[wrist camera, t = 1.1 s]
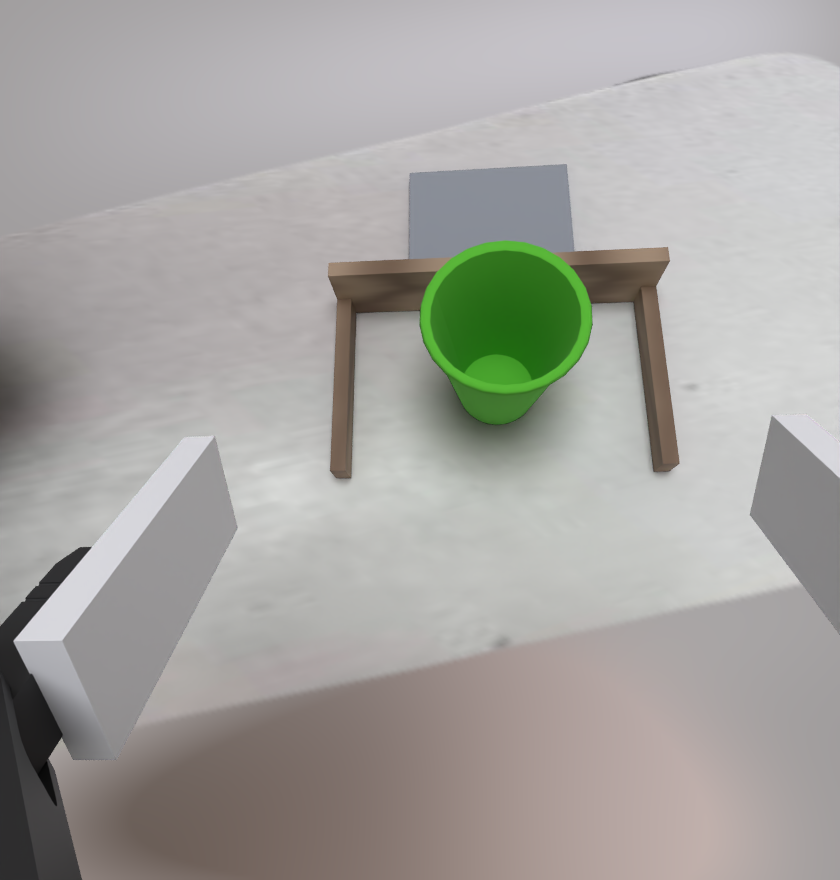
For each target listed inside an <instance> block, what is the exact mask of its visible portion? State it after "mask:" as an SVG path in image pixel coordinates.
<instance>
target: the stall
mask: <svg viewBox="0 0 840 880" xmlns="http://www.w3.org/2000/svg"><path fill="white" fill-rule="evenodd" d="M553 254H555V255H557V256H558V257H560V258H561V259H562V260H563V261H565V262H566V263H567V264H568V265H569V266H570V267H571V268H572V269H573V270H574V271H575V272H576V274H577V275H578V277H579V278H580V280H581V281H582V283H583V285H584V286H585V288H586V290H587V293H588V296H589V299H590V302H591V303H612V302H634V309H635V317H636V326H637V334H638V343H639V351H640V360H641V368H642V376H643V385H644V393H645V402H646V410H647V419H648V427H649V435H650V444H651V452H652V461H653V469H654V472H660V471H671V470H672V469H673V468H674V467H676V466H677V465H678V464H679V455H678V448H677V440H676V433H675V425H674V418H673V410H672V402H671V395H670V387H669V380H668V372H667V365H666V357H665V349H664V342H663V334H662V327H661V319H660V312H659V304H658V296H657V289H656V285H657V284H658V282H659V280H660V278H661V276H662V274H663V273H664V271H665V269H666V267H667V265H668V263H669V262H670V258H669V251H668V247H663V248H642V249H620V250H598V251H577V252H555V253H553ZM451 258H453V257H447V258H425V259H404V260H382V261H360V262H339V263H329V267H328V277H329V280H330V282H331V285H332V287H333V290H334V292H335V295H336V297H337V319H336V343H335V367H334V391H333V415H332V439H331V463H330V471H331V472H332V474H333V475H334V476H335V477H336V478H351V465H352V433H353V401H354V369H355V338H356V313H363V312H388V311H413V310H420V306H421V303H422V300H423V296H424V293H425V290H426V288H427V286H428V285H429V283H430V282H431V280H432V278H433V277H434V275H435V274H436V272H437V271H439V270H440V269H441V268H442V267H443V266H444V265H445V264H446V263H447V262H448V261H449V260H450V259H451Z"/></svg>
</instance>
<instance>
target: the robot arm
mask: <svg viewBox="0 0 840 880" xmlns="http://www.w3.org/2000/svg"><path fill="white" fill-rule="evenodd" d="M750 516H751V517H752V518H753V520H754V521H755V522H756V524H757V525H758V526H759V528H760V529H761V530H762V532H763V533H764V534H765V536H766V537H767V538H768V540H769V541H770V542H771V544H772V545H773V546H774V548H775V549H776V550H777V552H778V553H779V554H780V556H781V557H782V558H783V560H784V561H785V562H786V564H787V565H788V566H789V568H790V569H791V570H792V572H793V573H794V574H795V576H796V577H797V578H798V580H799V581H800V582H801V584H802V585H803V586H804V588H805V589H806V590H807V592H808V593H809V594H810V596H811V597H812V598H813V600H814V601H815V602H816V604H817V605H818V606H819V608H820V609H821V610H822V611H823V613H824V614H825V616H826V617H827V618H828V620H829V621H830V622H831V624H832V625H833V626H834V628H835V629H836V630H837V631H838V633H839V634H840V441H839V440H837V439H836V438H835V437H834V436H833V435H831V434H830V433H829V432H828V431H827V430H825V429H824V428H823V427H822V426H821V425H819V424H818V423H817V422H816V421H815V420H813V419H812V418H811V417H810V416H809V415H808V414H790V415H772V417H771V422H770V426H769V431H768V435H767V440H766V444H765V449H764V453H763V458H762V462H761V467H760V471H759V476H758V480H757V485H756V489H755V494H754V498H753V503H752V507H751V512H750ZM236 530H237V524H236V520H235V516H234V511H233V507H232V503H231V499H230V495H229V491H228V487H227V483H226V479H225V475H224V471H223V467H222V463H221V459H220V455H219V451H218V447H217V443H216V439H215V436H199V437H184V438H183V439H182V441H181V442H180V443H179V444H178V445H177V447H176V448H175V449H174V450H173V451H172V452H171V454H170V455H169V456H168V457H167V458H166V460H165V461H164V462H163V463H162V464H161V466H160V467H159V468H158V469H157V470H156V472H155V473H154V474H153V475H152V476H151V478H150V479H149V480H148V481H147V482H146V483H145V485H144V486H143V487H142V488H141V489H140V491H139V492H138V493H137V494H136V495H135V497H134V498H133V499H132V500H131V501H130V503H129V504H128V505H127V506H126V507H125V509H124V510H123V511H122V512H121V513H120V514H119V516H118V517H117V518H116V519H115V520H114V522H113V523H112V524H111V525H110V526H109V528H108V529H107V530H106V531H105V532H104V534H103V535H102V536H101V537H100V538H99V540H98V541H97V542H96V543H95V544H94V545H93V547H80V548H78V549H77V550H75V551H74V552H72V553H71V554H69V555H68V556H67V557H65V558H64V559H62V560H61V561H59V562H58V563H56V564H55V565H54V566H53V568H52V569H51V570H50V571H49V572H48V573H47V574H46V575H45V577H44V578H43V579H42V580H41V581H40V582H39V586H36V587H35V588H34V589H33V590H32V591H31V592H30V593H29V595H28V596H27V597H26V601H25V602H21V604H20V605H19V606H18V607H17V608H16V609H15V610H14V611H13V613H12V614H11V615H10V616H9V617H8V618H7V619H6V620H5V622H4V623H3V624H2V625H1V626H0V880H82V878H81V874H80V870H79V866H78V862H77V858H76V854H75V850H74V846H73V842H72V838H71V834H70V830H69V826H68V822H67V818H66V814H65V810H64V806H63V802H62V798H61V794H60V790H59V786H58V782H57V778H56V774H55V770H54V768H53V766H52V764H51V763H50V761H49V759H48V758H49V756H50V755H51V753H52V752H53V750H54V748H55V747H56V745H57V744H58V742H59V741H60V739H61V737H62V739H63V741H64V743H65V745H66V747H67V749H68V751H69V753H70V754H71V757H72V759H73V760H116V759H117V758H118V756H119V754H120V752H121V750H122V748H123V746H124V745H125V743H126V741H127V738H128V737H129V735H130V733H131V731H132V729H133V727H134V725H135V723H136V722H137V720H138V718H139V716H140V714H141V712H142V710H143V708H144V706H145V704H146V702H147V701H148V699H149V697H150V695H151V693H152V691H153V689H154V687H155V685H156V683H157V681H158V679H159V678H160V676H161V674H162V672H163V670H164V668H165V666H166V664H167V662H168V660H169V658H170V657H171V655H172V653H173V651H174V649H175V647H176V645H177V643H178V641H179V639H180V637H181V636H182V634H183V632H184V630H185V628H186V626H187V624H188V622H189V620H190V618H191V616H192V614H193V613H194V611H195V609H196V607H197V605H198V603H199V601H200V599H201V597H202V595H203V593H204V592H205V590H206V588H207V586H208V584H209V582H210V580H211V578H212V576H213V574H214V572H215V570H216V569H217V567H218V565H219V563H220V561H221V559H222V557H223V555H224V553H225V551H226V549H227V548H228V546H229V544H230V542H231V540H232V538H233V536H234V534H235V532H236Z"/></svg>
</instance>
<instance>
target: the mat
mask: <svg viewBox="0 0 840 880" xmlns="http://www.w3.org/2000/svg"><path fill="white" fill-rule="evenodd" d="M504 240H506V241H517V242H526V243H529V244H532V245H535V246H539V247H542V248H544V249H546V250H548V251H550V252H551V253H555V252H574V241H573V230H572V218H571V207H570V196H569V185H568V174H567V164H561V165H544V166H526V167H508V168H490V169H473V170H455V171H437V172H419V173H410V241H409V259H425V258H447V257H454V256H456V255H458V254H459V253H461V252H463V251H464V250H466V249H468V248H471V247H474V246H477V245H480V244H483V243H487V242H496V241H504Z"/></svg>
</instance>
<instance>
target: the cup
mask: <svg viewBox="0 0 840 880" xmlns="http://www.w3.org/2000/svg"><path fill="white" fill-rule="evenodd" d="M592 325H593V324H592V305H591V302H590V299H589V296H588V293H587V290H586V288H585V286H584V285H583V283H582V281H581V280H580V278H579V277H578V275H577V274H576V272H575V271H574V270H573V269H572V268H571V267H570V266H569V265H568V264H567V263H566V262H565V261H563V260H562V259H561V258H560V257H558V256H557V255H555V254H553V253H551V252H550V251H548V250H546V249H544V248H542V247H539V246H535V245H532V244H529V243H526V242H517V241H506V240H504V241H496V242H487V243H483V244H480V245H477V246H474V247H471V248H468V249H466V250H464V251H463V252H461V253H459V254H458V255H456V256H454V257H453V258H451V259H450V260H449V261H448V262H447V263H446V264H445V265H444V266H443V267H442V268H441V269H440V270H439V271H437V272H436V274H435V275H434V277H433V278H432V280H431V282H430V283H429V285H428V286H427V288H426V290H425V293H424V296H423V300H422V303H421V306H420V329H421V333H422V338H423V342H424V344H425V346H426V348H427V350H428V352H429V354H430V356H431V358H432V359H433V361H434V362H435V363H436V364H437V365H438V366H439V367H440V368H441V369H442V370H443V371H444V373H445V374H446V375H447V376H448V378H449V380H450V382H451V384H452V386H453V387H454V389H455V391H456V393H457V395H458V397H459V399H460V401H461V403H462V405H463V407H464V409H465V410H466V411H467V412H468V413H469V414H470V415H471V416H473V417H474V418H476V419H477V420H479V421H482V422H484V423H487V424H495V425H498V424H507V423H509V422H512V421H515V420H517V419H518V418H520V417H521V416H523V415H524V414H525V413H526V412H527V411H528V409H529V408H530V407H531V406H532V405H533V404H534V402H535V401H536V400H537V399H538V398H539V397H540V395H541V394H542V393H543V392H544V391H545V390H546V389H547V387H548V386H549V385H550V384H552V383H553V382H555V381H557V380H558V379H560V378H561V377H563V376H564V375H566V374H567V372H568V371H569V370H570V369H571V368H572V367H573V366H574V365H575V364H576V363H577V362H578V361H579V359H580V357H581V356H582V354H583V352H584V350H585V348H586V346H587V345H588V342H589V338H590V333H591V329H592Z"/></svg>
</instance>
